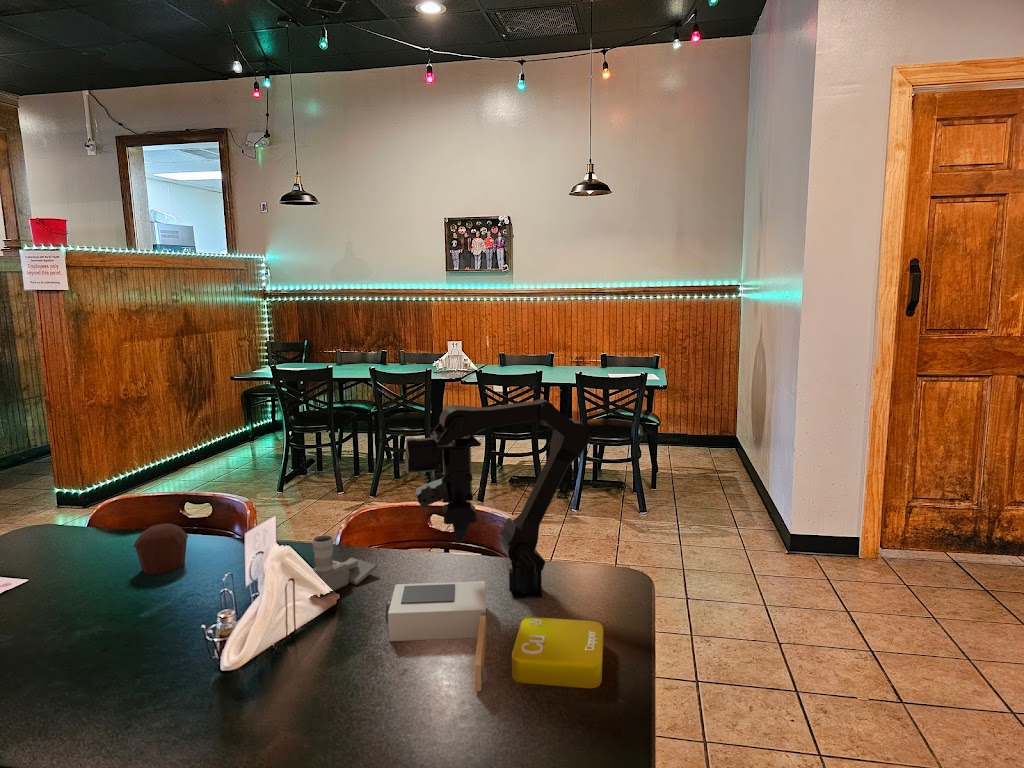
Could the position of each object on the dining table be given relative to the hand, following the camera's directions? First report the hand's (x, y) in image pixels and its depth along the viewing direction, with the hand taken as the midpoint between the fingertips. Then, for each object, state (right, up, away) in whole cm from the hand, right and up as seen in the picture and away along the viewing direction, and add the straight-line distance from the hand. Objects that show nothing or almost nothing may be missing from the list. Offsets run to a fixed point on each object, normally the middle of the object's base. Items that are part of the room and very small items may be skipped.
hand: (459, 541), depth 135 cm
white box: (-3, -14, -7) cm, 16 cm away
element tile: (+19, -16, -20) cm, 32 cm away
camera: (-28, -12, +11) cm, 32 cm away
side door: (+6, -16, -21) cm, 27 cm away
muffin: (-72, -11, +21) cm, 76 cm away
